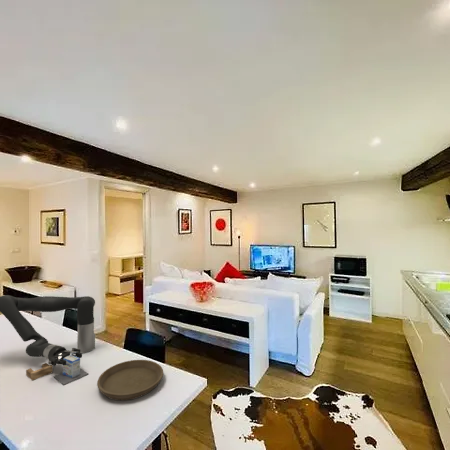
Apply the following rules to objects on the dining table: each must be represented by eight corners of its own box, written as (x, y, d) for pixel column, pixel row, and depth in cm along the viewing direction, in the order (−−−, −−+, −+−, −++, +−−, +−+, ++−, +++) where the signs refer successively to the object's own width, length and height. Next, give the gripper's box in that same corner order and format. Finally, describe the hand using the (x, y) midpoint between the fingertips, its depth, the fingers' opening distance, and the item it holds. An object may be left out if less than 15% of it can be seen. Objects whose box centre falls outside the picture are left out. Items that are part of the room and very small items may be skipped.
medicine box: (62, 374, 136) (62, 358, 136) (70, 370, 140) (70, 354, 140) (72, 378, 132) (72, 361, 132) (80, 374, 136) (80, 357, 136)
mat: (77, 367, 144) (77, 366, 144) (88, 374, 137) (88, 373, 137) (53, 377, 134) (53, 376, 134) (63, 385, 127) (63, 384, 127)
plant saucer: (175, 377, 135) (175, 369, 135) (126, 413, 108) (126, 402, 109) (135, 362, 151) (135, 354, 151) (83, 390, 124) (83, 380, 124)
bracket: (46, 367, 144) (46, 361, 144) (52, 372, 139) (52, 365, 139) (26, 374, 136) (26, 368, 136) (32, 380, 131) (32, 373, 131)
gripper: (40, 351, 136) (60, 358, 129) (67, 341, 149) (86, 346, 142) (40, 365, 136) (59, 373, 129) (67, 354, 148) (86, 360, 141)
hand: (73, 359), depth 135 cm, fingers open, 8 cm apart
